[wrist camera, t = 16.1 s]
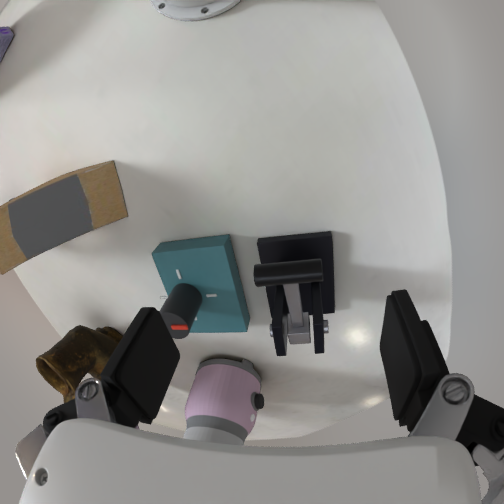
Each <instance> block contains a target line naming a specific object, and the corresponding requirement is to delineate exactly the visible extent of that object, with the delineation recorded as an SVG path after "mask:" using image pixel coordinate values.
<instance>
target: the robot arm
mask: <svg viewBox="0 0 504 504" xmlns="http://www.w3.org/2000/svg"><path fill="white" fill-rule="evenodd" d="M240 1H241V0H150V2H151V4H152V6H153V7H154V8H155V9H156V10H157V11H158V12H160V13H161V14H163V15H165V16H167V17H169V18H172V19H176V20H181V21H194V20H202V19H206V18H210V17H213V16H216V15H218V14H221V13H223V12H225V11H227V10H228V9H230V8H232V7H233V6H234V5H236V4H237V3H239V2H240ZM206 11H208V12H207V13H206V14H205V12H206ZM380 352H381V357H382V361H383V365H384V370H385V374H386V379H387V384H388V389H389V394H390V399H391V404H392V409H393V416H394V419H395V420H399V425H400V426H405V425H407V429H408V431H409V432H410V434H409V435H408V437H399V438H392V439H384V440H376V441H368V442H360V443H351V444H341V445H340V444H339V445H326V446H308V447H264V446H244V445H231V444H221V443H212V442H204V441H197V440H190V439H184V438H178V437H172V436H167V435H161V434H157V433H152V432H148V431H144V430H140V429H139V427H138V423H139V421H140V422H142V423H146V424H151V423H152V420H153V419H155V418H156V416H157V414H158V412H159V409H160V406H161V404H162V401H163V399H164V396H165V394H166V391H167V389H168V386H169V384H170V381H171V379H172V376H173V374H174V371H175V369H176V367H177V364H178V362H179V359H180V353H179V350H178V348H177V346H176V345H175V343H174V341H173V339H172V337H171V335H170V333H169V330H168V328H167V326H166V324H165V322H164V320H163V318H162V316H161V314H160V312H159V311H157V310H156V308H154V307H143V308H141V309H140V311H139V312H138V314H137V315H136V317H135V318H134V320H133V321H132V323H131V325H130V326H129V328H128V329H127V331H126V332H125V334H124V336H123V337H122V339H121V340H120V342H119V344H118V345H117V347H116V349H115V350H114V352H113V354H112V355H111V357H110V359H109V360H108V362H107V364H106V365H105V367H104V369H103V370H102V372H101V374H100V376H101V378H102V379H101V381H100V380H98V379H96V378H89V379H86V380H84V381H82V382H81V383H80V384H79V385H78V387H77V389H76V391H75V398H74V399H72V400H70V401H68V402H66V403H64V404H62V405H60V406H58V407H55V408H54V409H52V410H50V411H49V412H48V413H47V414H46V416H45V417H44V421H43V426H42V425H41V424H40V425H39V426H38V427H36V429H34V430H33V431H32V432H30V433H29V434H28V435H27V436H26V437H25V438H23V439H22V440H21V441H20V442H19V443H18V444H17V446H16V451H15V452H16V457H17V459H18V462H19V464H20V467H21V469H22V471H23V474H24V476H25V478H26V480H27V482H26V485H25V487H24V490H23V493H22V496H21V499H20V502H19V504H504V409H503V408H501V407H499V406H497V405H495V404H493V403H491V402H489V401H487V400H485V399H483V398H481V397H479V396H477V395H475V394H474V386H473V384H472V382H471V381H470V379H469V378H468V377H466V376H464V375H463V374H458V373H453V374H449V371H448V368H447V366H446V363H445V360H444V358H443V355H442V353H441V350H440V348H439V345H438V343H437V341H436V338H435V336H434V334H433V332H432V329H431V327H430V325H429V323H428V321H426V320H423V321H421V320H420V318H419V315H418V313H417V311H416V309H415V307H414V304H413V302H412V300H411V298H410V296H409V294H408V292H407V290H397V291H392V293H391V295H388V296H387V299H386V307H385V314H384V321H383V328H382V334H381V340H380ZM475 466H480V467H481V468H482V469H483V471H484V473H483V474H484V476H485V477H486V478H487V480H488V481H489V489H488V492H487V494H486V495H485V497H484V498H483V499H482V500H481V493H480V487H479V481H478V476H477V472H476V469H475Z"/></svg>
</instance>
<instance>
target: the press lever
mask: <svg viewBox="0 0 504 504" xmlns="http://www.w3.org/2000/svg"><path fill="white" fill-rule="evenodd" d="M254 281H255V285H256V286H257V287H260V286H274V285H283V287H284V291H285V295H286V300H287V304H288V308H289V314H287V335H288V338H289V342H290V344H305V343H311V338H310V319H309V312H303V311H302V304H301V298H300V291H299V285H298V283H309V282H320V281H323V270H322V261H321V259H311V260H301V261H290V262H279V263H268V264H257V265H255V266H254Z"/></svg>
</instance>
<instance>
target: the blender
mask: <svg viewBox="0 0 504 504" xmlns="http://www.w3.org/2000/svg"><path fill="white" fill-rule="evenodd" d="M260 389H261V378H260V376H259V375H258V373H257V372H256V371H255V370H253V364H252V363H251V362H249V361H248V360H245V359H243V360H242V362H241V363H240V362H237V361H233V360H229V359H211V360H207V361H205V362H203V363H200V364H199V367H198V369H197V372H196V377H195V379H194V382H193V385H192V388H191V391H190V394H189V397H188V400H187V403H186V407H185V417H186V422H187V429H186V432H185V434H184V436H183V438H184V439H190V440H197V441H204V442H212V443H221V444H231V445H244V441H245V439H246V437H247V436H248V435H249V433H250V432H251V430H252V429H253V427H254V425H255V421H256V416H257V411H258V410H259V409H262V408H263V406H264V398H263V395H262V394H260Z"/></svg>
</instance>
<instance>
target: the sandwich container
mask: <svg viewBox="0 0 504 504" xmlns="http://www.w3.org/2000/svg"><path fill="white" fill-rule="evenodd" d="M125 217H128V215H127V211H126V207H125V203H124V198H123V194H122V189H121V186H120V183H119V179H118V176H117V173H116V169H115V166H114V162H113V161H109V162H105V163H101V164H97V165H93V166H89V167H86V168H82V169H79V170H76V171H73V172H70V173H67V174H65V175H62V176H59V177H57V178H55V179H52V180H50V181H48V182H46V183H44V184H42V185H40V186H38V187H36V188H33V189H31V190H29V191H28V192H26V193H24V194H22V195H20V196H18V197H16V198H14V199H12V200H10V201H9V202H7V203H5V204H3V205H2V206H0V274H5V273H6V272H8V271H9V270H11V269H13V268H15V267H17V266H18V265H20V264H22V263H24V262H25V261H27V260H29V259H31V258H33V257H35V256H37V255H39V254H41V253H43V252H45V251H47V250H50V249H52V248H54V247H56V246H58V245H60V244H62V243H65V242H67V241H69V240H71V239H74V238H76V237H78V236H80V235H83V234H85V233H87V232H90V231H92V230H94V229H97V228H99V227H102V226H104V225H107V224H109V223H112V222H114V221H117V220H120V219H122V218H125Z"/></svg>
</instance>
